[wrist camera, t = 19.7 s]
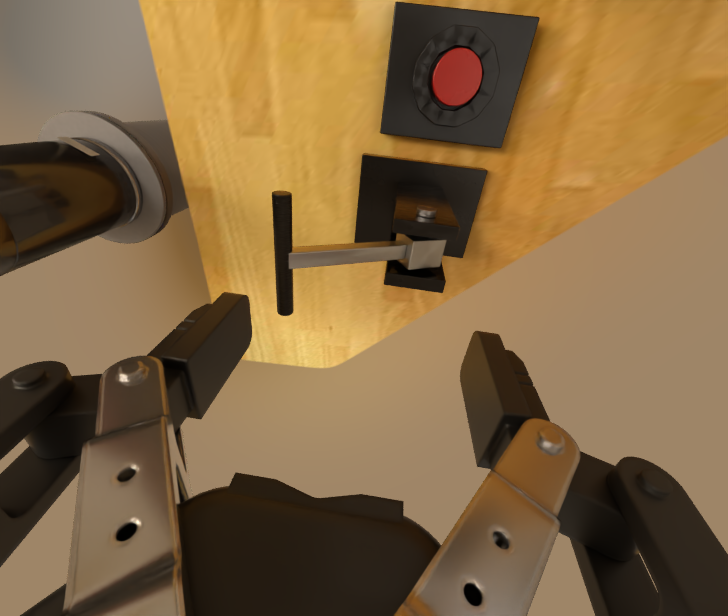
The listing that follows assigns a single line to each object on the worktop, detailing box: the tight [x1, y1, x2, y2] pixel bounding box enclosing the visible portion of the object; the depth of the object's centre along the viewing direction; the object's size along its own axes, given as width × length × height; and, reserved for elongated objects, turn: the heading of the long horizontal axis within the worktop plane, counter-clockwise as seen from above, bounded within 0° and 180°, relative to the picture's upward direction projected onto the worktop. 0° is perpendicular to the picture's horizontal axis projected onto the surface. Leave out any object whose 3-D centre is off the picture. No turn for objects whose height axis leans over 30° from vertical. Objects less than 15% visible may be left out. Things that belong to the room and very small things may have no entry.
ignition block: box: [380, 2, 539, 148], centre depth 27 cm, size 11×9×4 cm
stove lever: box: [272, 191, 446, 316], centre depth 23 cm, size 12×8×2 cm
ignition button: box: [432, 48, 482, 106], centre depth 25 cm, size 4×4×2 cm
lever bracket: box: [354, 153, 487, 293], centre depth 29 cm, size 12×9×14 cm
